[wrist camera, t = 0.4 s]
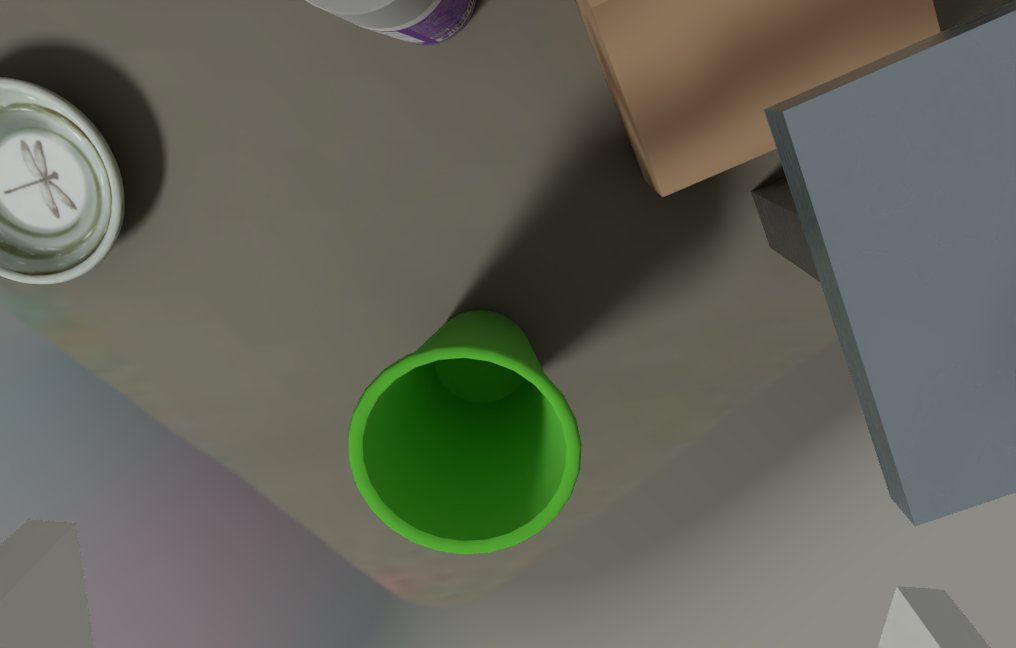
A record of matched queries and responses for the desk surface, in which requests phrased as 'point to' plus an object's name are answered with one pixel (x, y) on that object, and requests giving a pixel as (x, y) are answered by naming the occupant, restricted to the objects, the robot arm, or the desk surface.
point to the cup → (466, 439)
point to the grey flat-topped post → (915, 251)
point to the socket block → (730, 69)
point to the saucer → (53, 187)
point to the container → (405, 17)
